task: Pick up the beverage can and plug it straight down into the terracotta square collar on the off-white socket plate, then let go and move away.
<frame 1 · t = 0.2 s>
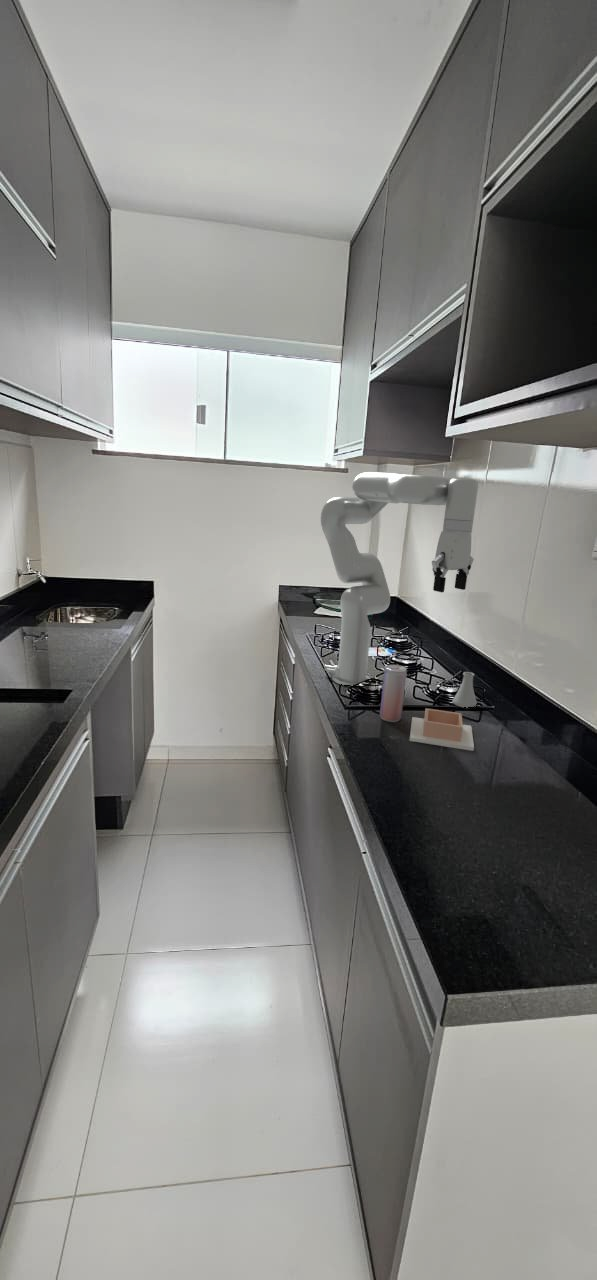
hand: (449, 590, 158), 37 cm above the worktop, tool pointing down, fingers open, 9 cm apart
socket plate: (441, 734, 155), on the worktop
flask: (464, 704, 178), on the worktop
beverage can: (390, 719, 163), on the worktop
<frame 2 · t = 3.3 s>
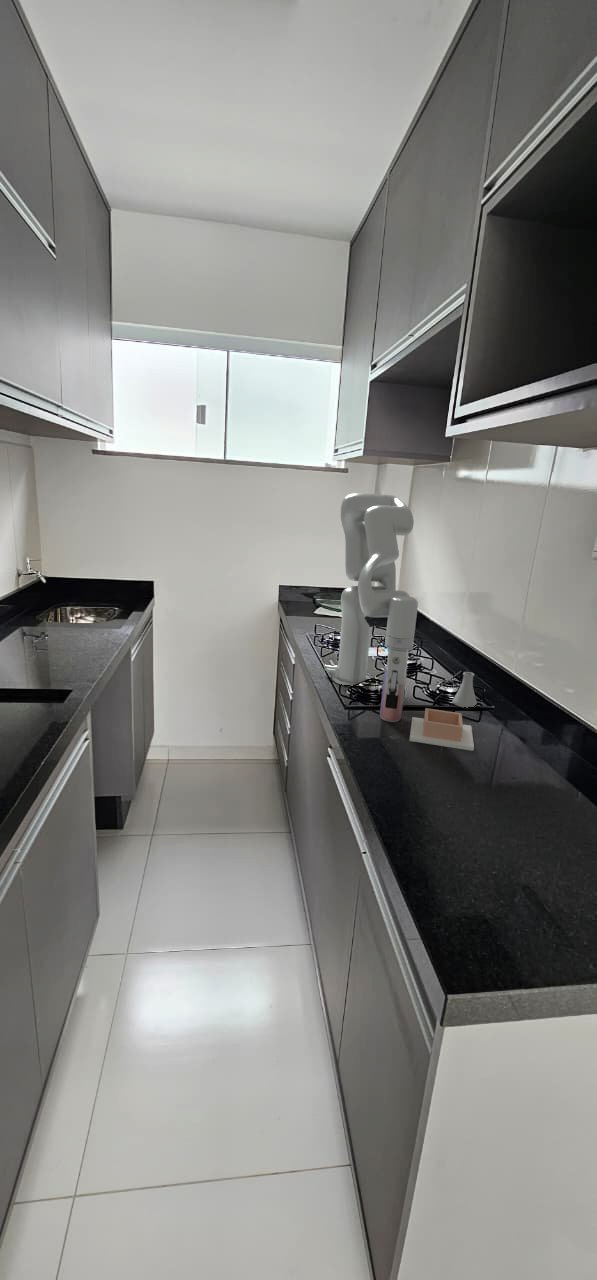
hand: (391, 703, 162), 5 cm above the worktop, tool pointing down, fingers closed on beverage can, 6 cm apart
beverage can: (390, 719, 163), on the worktop, touching gripper
everything else where it was.
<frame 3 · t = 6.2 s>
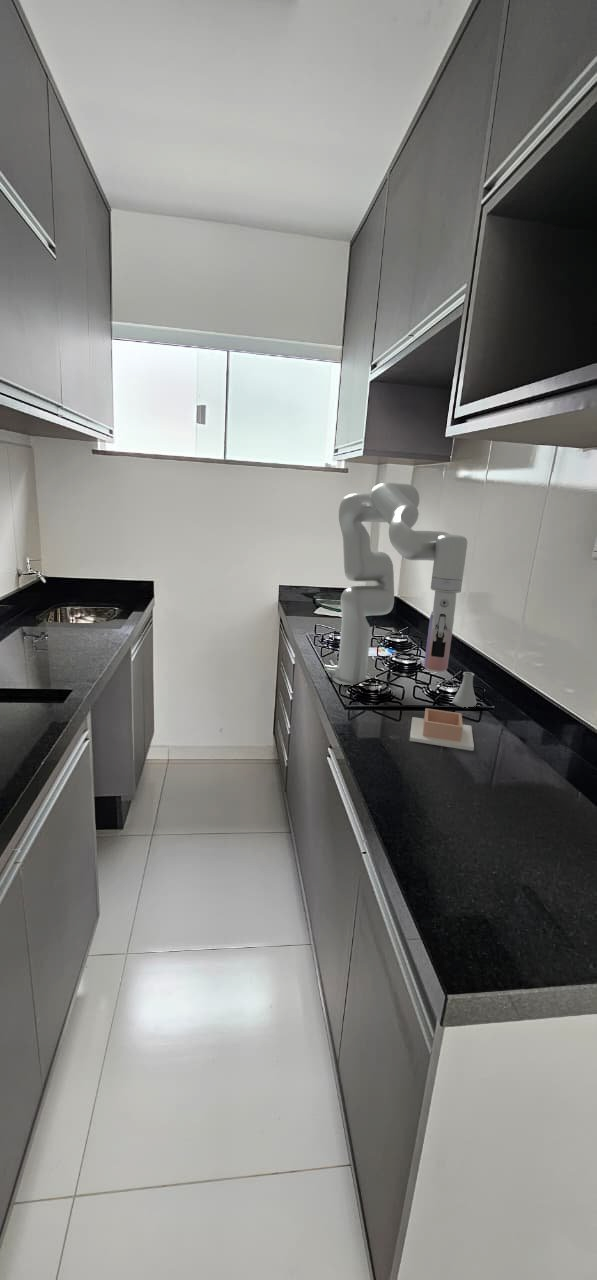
hand: (437, 652, 151), 22 cm above the worktop, tool pointing down, fingers closed on beverage can, 6 cm apart
beverage can: (435, 669, 152), point 17 cm above the worktop, touching gripper
everything else where it was.
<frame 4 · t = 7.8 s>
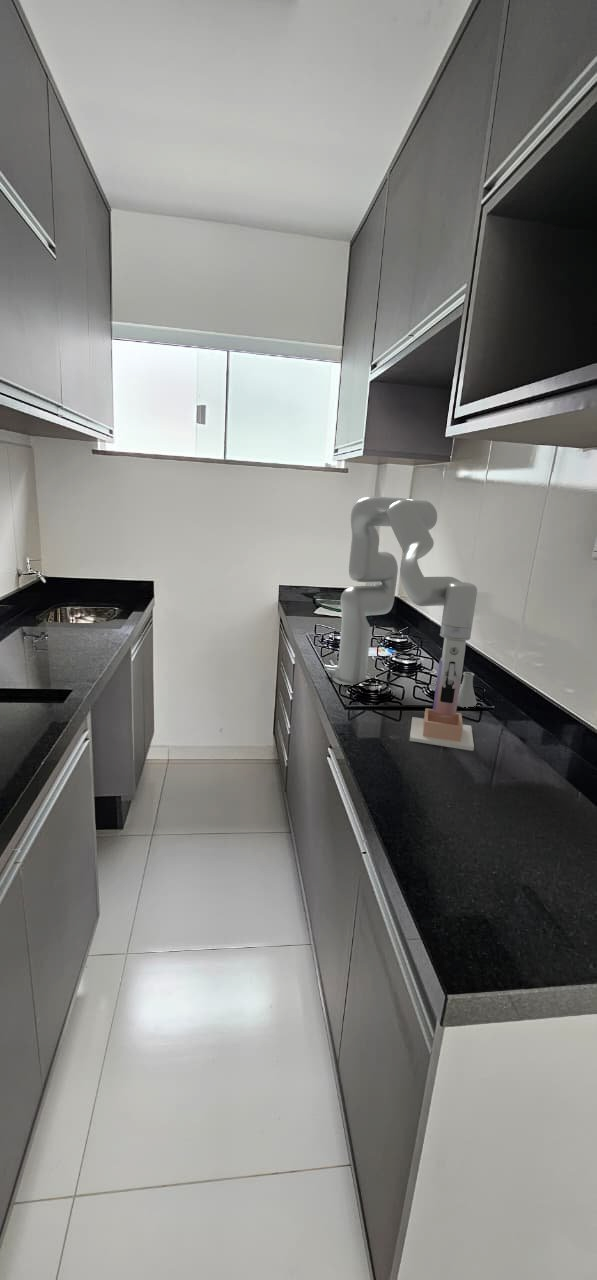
hand: (446, 697, 152), 11 cm above the worktop, tool pointing down, fingers closed on beverage can, 6 cm apart
beverage can: (443, 713, 153), point 6 cm above the worktop, touching gripper
everything else where it was.
when the fingers open (7 cm above the worktop, at t = 9.1 s): beverage can drops 1 cm, resting on socket plate.
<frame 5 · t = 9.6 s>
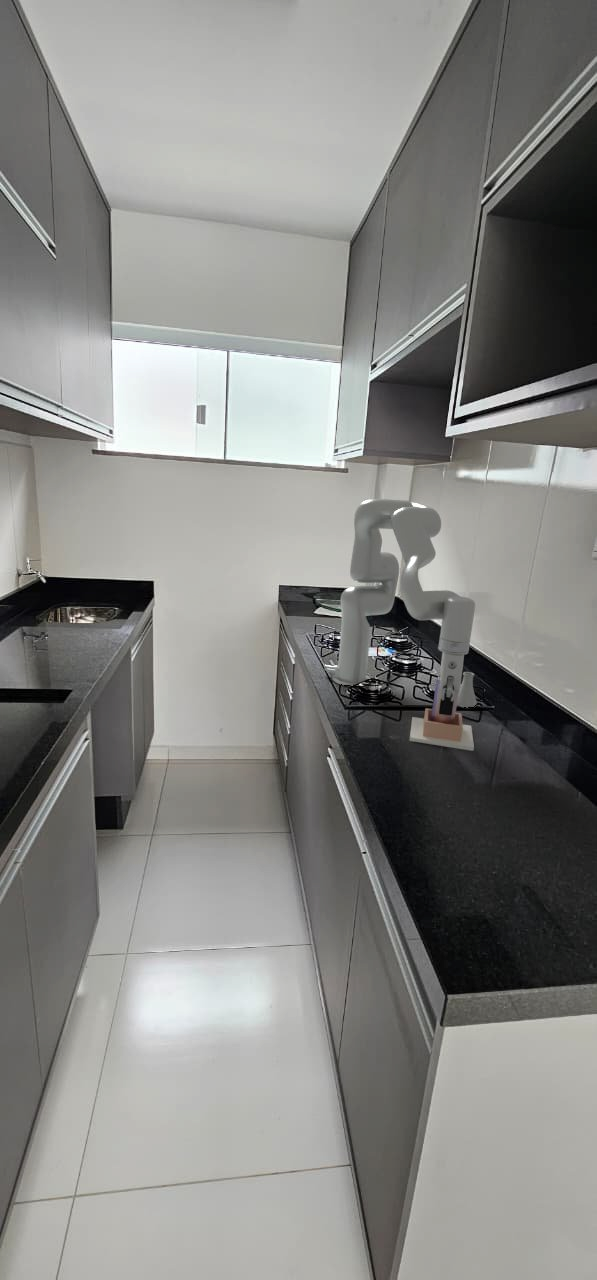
hand: (444, 707, 153), 8 cm above the worktop, tool pointing down, fingers open, 9 cm apart
beverage can: (440, 731, 155), point 1 cm above the worktop, touching socket plate
everything else where it was.
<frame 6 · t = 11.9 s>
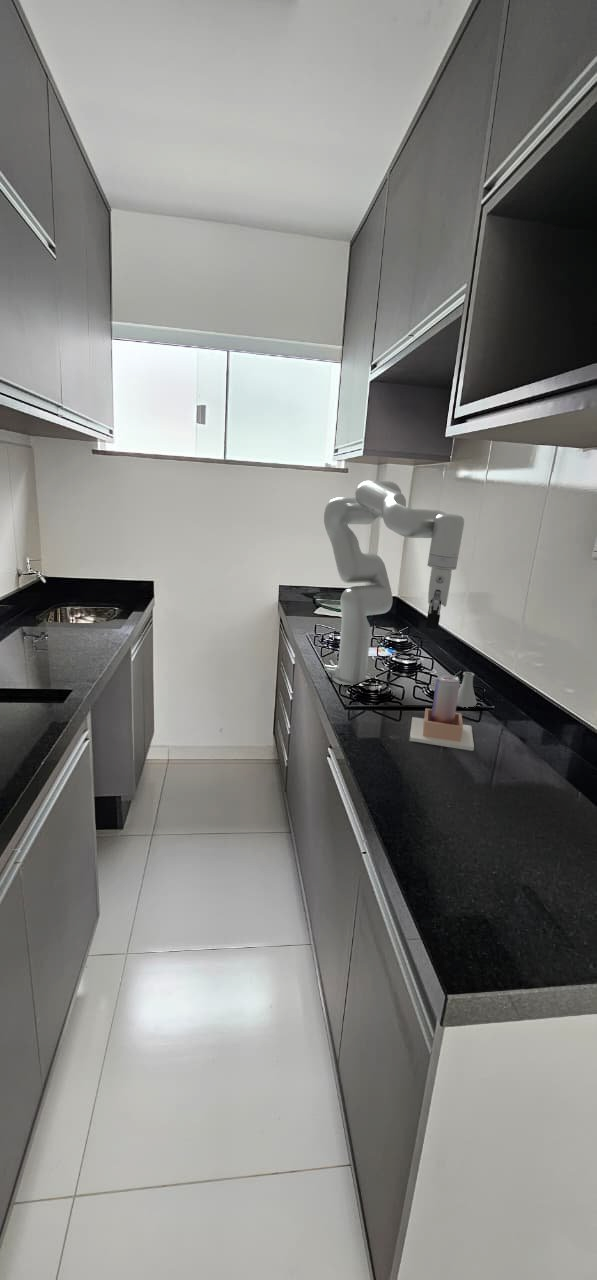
hand: (432, 623, 159), 27 cm above the worktop, tool pointing down, fingers open, 9 cm apart
nothing on the worktop moved.
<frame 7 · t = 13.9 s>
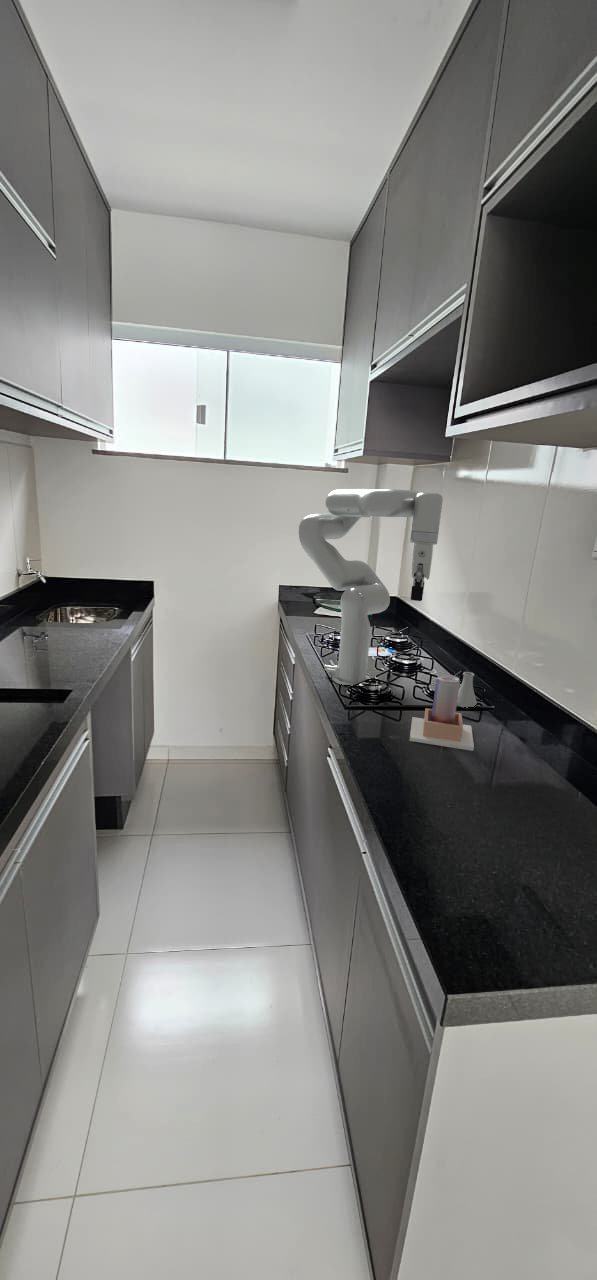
hand: (416, 597, 168), 32 cm above the worktop, tool pointing down, fingers open, 9 cm apart
nothing on the worktop moved.
at the end: beverage can 0.2 cm off-centre on the socket plate, point 0.8 cm above the socket plate's base; beverage can tilted 0°; the gripper is holding nothing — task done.
